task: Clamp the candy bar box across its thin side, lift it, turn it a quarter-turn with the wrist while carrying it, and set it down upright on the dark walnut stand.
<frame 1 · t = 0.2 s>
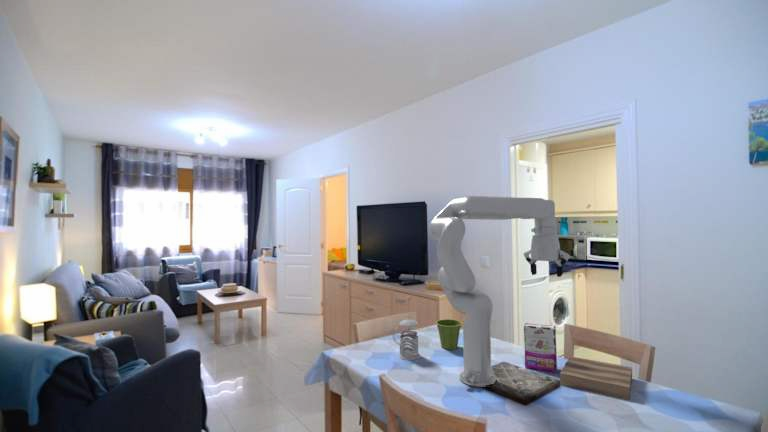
hand: (546, 275, 145), 35 cm above the table, tool pointing down, fingers open, 9 cm apart
candy bar box: (540, 368, 143), on the table
walnut stand: (596, 381, 130), on the table
french press: (407, 356, 158), on the table
plant pot: (449, 347, 169), on the table
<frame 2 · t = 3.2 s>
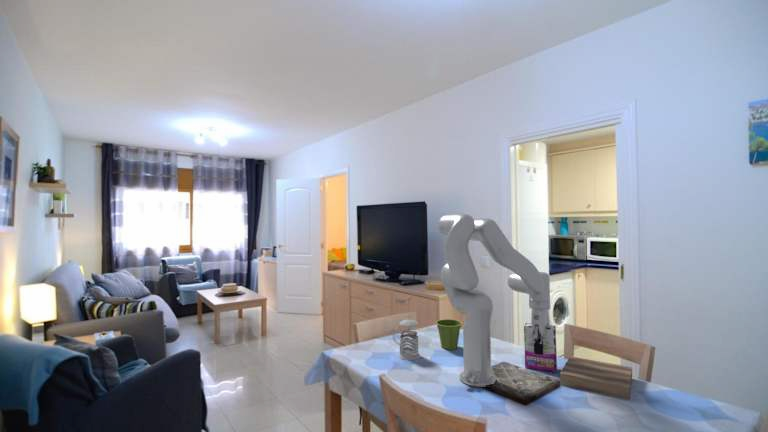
hand: (540, 351, 143), 7 cm above the table, tool pointing down, fingers closed on candy bar box, 5 cm apart
candy bar box: (540, 368, 143), on the table, touching gripper
everything else where it was.
when the fingers open (12 cm above the table, at t = 9.3 s): candy bar box drops 1 cm, resting on walnut stand.
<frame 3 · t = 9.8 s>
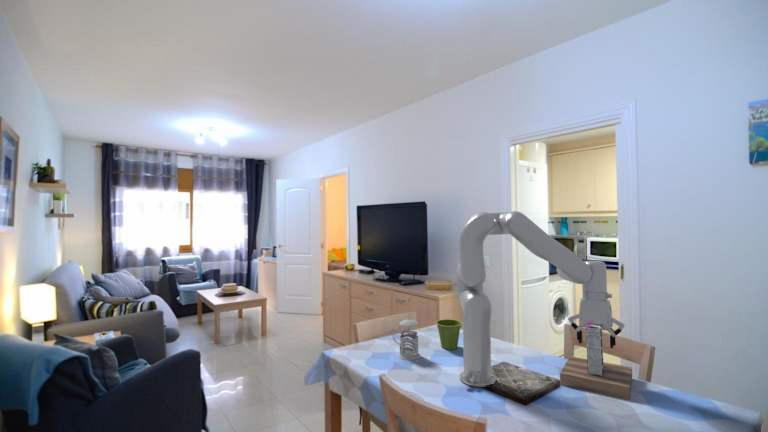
hand: (595, 344, 131), 13 cm above the table, tool pointing down, fingers open, 9 cm apart
candy bar box: (595, 370, 131), point 4 cm above the table, touching walnut stand
everything else where it was.
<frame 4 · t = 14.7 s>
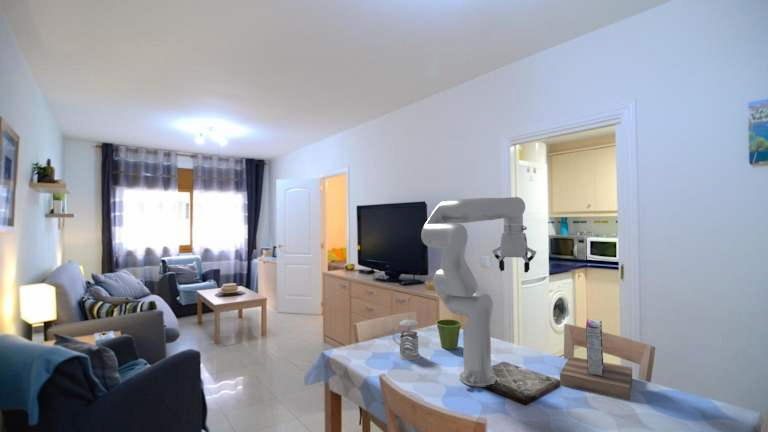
hand: (514, 271, 151), 36 cm above the table, tool pointing down, fingers open, 9 cm apart
nothing on the table moved.
at the end: candy bar box inside the target area on the walnut stand (0.4 cm from its centre), point 3.8 cm above the walnut stand's base; candy bar box tilted 0°; the gripper is holding nothing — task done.
